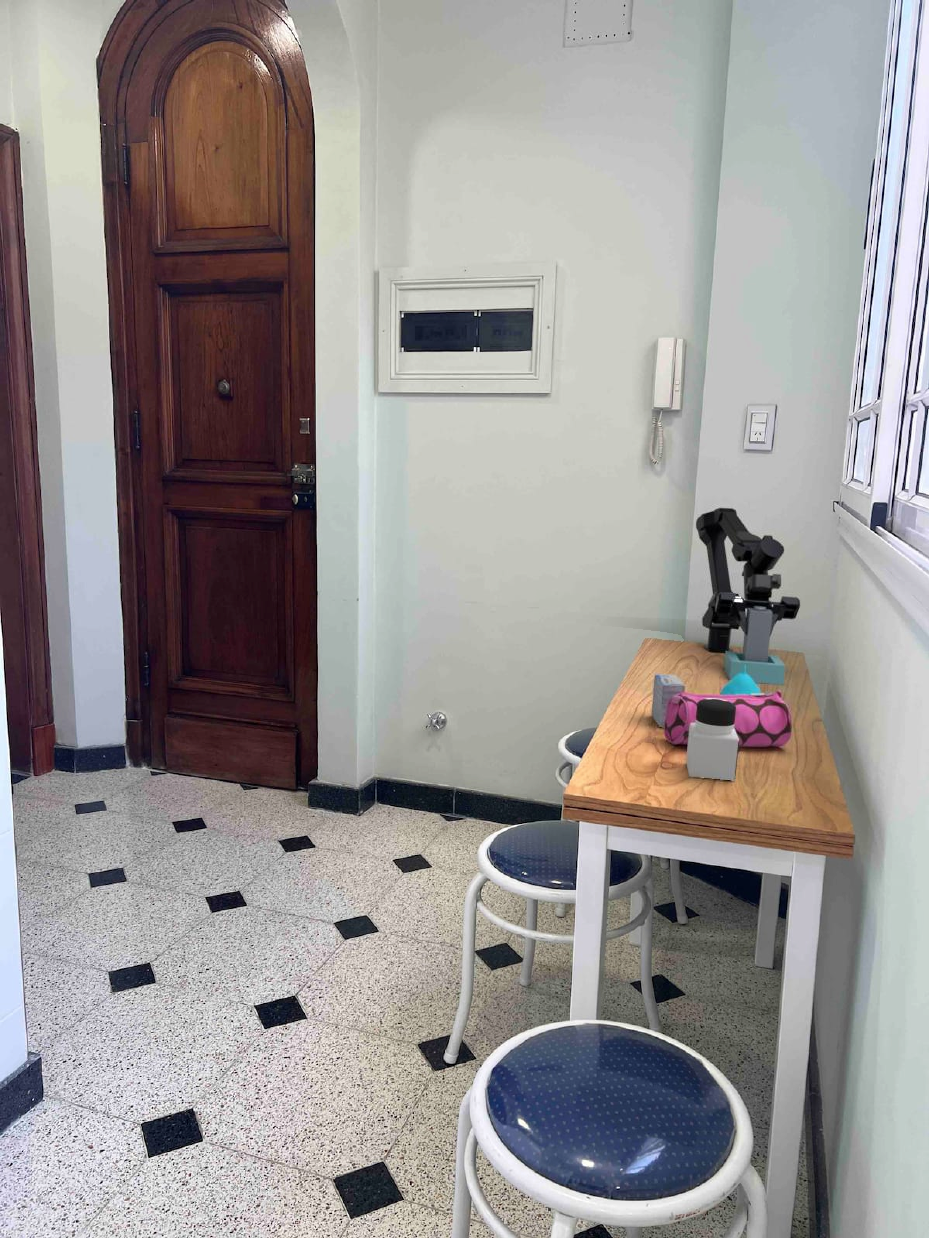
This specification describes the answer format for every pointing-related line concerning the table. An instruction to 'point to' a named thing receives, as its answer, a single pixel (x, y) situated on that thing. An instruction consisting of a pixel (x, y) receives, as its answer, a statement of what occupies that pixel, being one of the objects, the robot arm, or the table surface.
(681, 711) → the pencil case
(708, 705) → the medicine bottle
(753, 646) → the grey knobbed block
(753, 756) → the table surface
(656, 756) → the table surface
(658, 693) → the medicine box
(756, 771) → the table surface
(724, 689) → the toy shark
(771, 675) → the teal base brick
